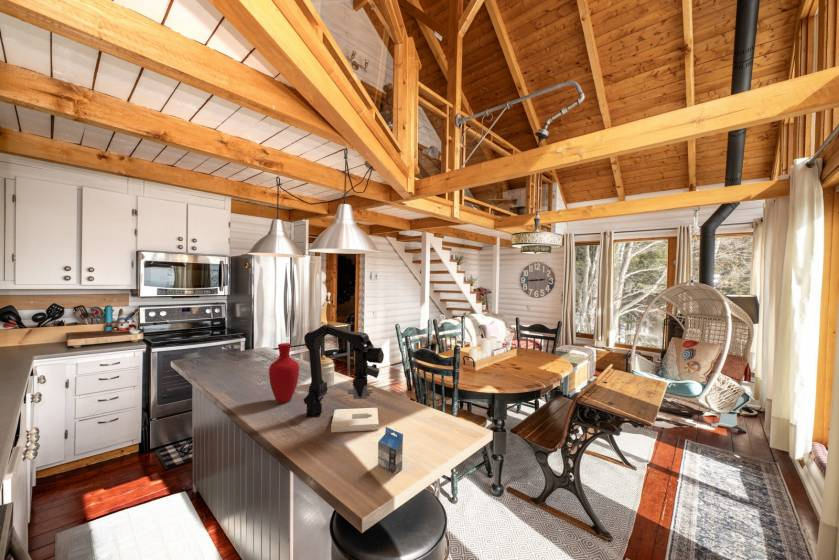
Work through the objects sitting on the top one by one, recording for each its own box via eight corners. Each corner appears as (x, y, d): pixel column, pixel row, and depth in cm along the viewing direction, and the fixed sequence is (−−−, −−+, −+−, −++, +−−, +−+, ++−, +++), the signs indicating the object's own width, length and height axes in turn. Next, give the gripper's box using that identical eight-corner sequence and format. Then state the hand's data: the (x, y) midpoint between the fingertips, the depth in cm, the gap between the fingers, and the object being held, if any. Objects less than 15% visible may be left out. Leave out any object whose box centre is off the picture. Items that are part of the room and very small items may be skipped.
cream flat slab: (331, 432, 144) (331, 426, 144) (334, 414, 162) (335, 409, 162) (378, 429, 148) (378, 423, 148) (377, 412, 165) (377, 407, 165)
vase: (274, 408, 168) (274, 348, 168) (264, 400, 179) (265, 343, 179) (303, 401, 178) (304, 344, 178) (292, 394, 189) (293, 340, 189)
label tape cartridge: (377, 464, 121) (377, 430, 120) (384, 460, 124) (385, 426, 123) (395, 474, 115) (395, 438, 115) (403, 469, 118) (403, 434, 118)
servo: (347, 399, 152) (347, 386, 152) (348, 396, 156) (348, 383, 156) (372, 398, 154) (372, 385, 154) (372, 395, 158) (372, 382, 158)
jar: (310, 382, 209) (311, 354, 209) (332, 380, 215) (332, 352, 214) (313, 389, 197) (314, 359, 197) (336, 386, 203) (336, 357, 203)
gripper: (379, 366, 147) (378, 402, 147) (377, 355, 165) (377, 387, 165) (353, 366, 145) (352, 403, 145) (354, 356, 163) (354, 388, 164)
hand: (360, 395), depth 155 cm, fingers closed on servo, 4 cm apart
